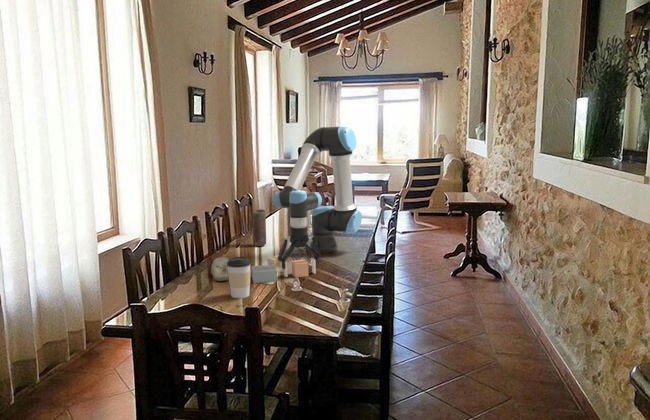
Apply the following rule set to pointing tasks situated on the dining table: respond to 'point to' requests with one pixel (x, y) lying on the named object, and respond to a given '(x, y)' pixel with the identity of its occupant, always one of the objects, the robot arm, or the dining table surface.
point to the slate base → (264, 273)
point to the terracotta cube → (299, 268)
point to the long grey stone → (220, 269)
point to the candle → (259, 227)
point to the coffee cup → (239, 276)
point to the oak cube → (275, 263)
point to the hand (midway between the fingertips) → (300, 274)
